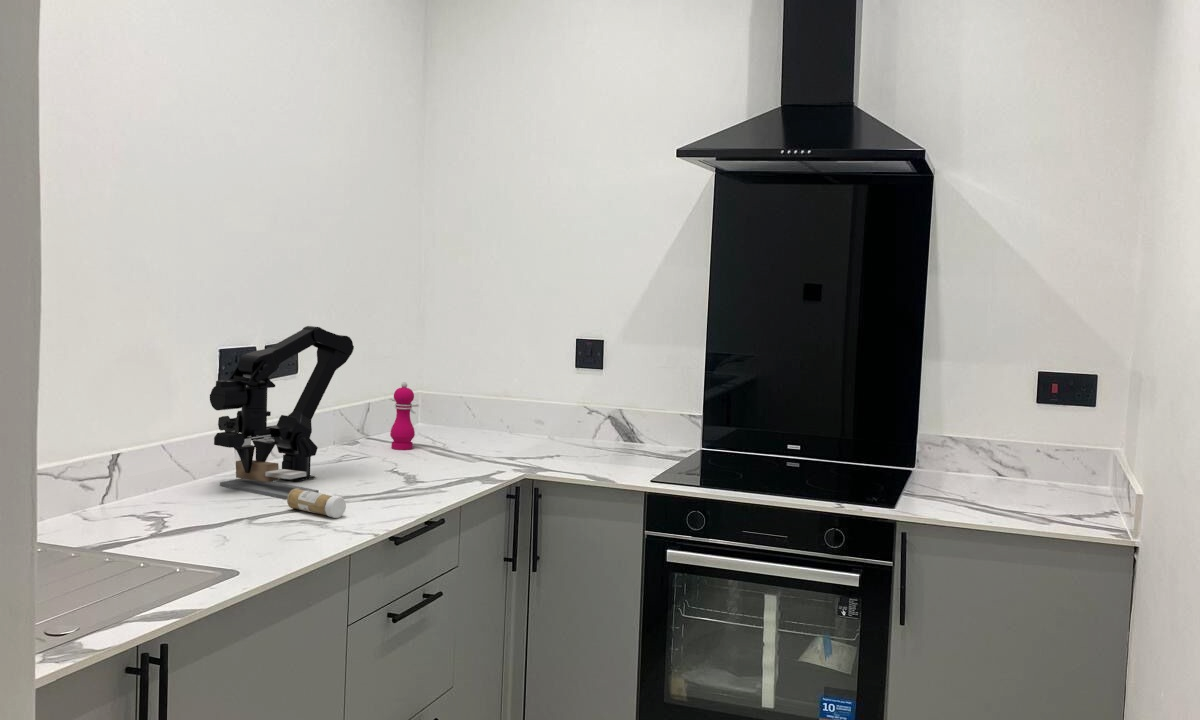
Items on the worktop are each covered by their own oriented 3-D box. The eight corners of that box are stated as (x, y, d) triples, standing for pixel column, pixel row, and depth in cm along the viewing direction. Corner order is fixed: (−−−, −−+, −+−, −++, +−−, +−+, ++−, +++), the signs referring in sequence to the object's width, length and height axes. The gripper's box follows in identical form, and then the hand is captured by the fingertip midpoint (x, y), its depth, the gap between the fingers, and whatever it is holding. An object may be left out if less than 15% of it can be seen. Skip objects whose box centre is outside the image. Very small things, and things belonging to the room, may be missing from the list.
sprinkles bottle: (286, 511, 215) (332, 521, 209) (285, 491, 214) (330, 500, 208) (302, 504, 219) (347, 514, 212) (301, 485, 218) (346, 494, 212)
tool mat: (249, 479, 243) (249, 476, 243) (318, 493, 232) (318, 490, 232) (219, 485, 235) (219, 482, 235) (289, 500, 224) (289, 496, 224)
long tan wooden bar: (232, 478, 236) (232, 461, 236) (249, 475, 240) (249, 458, 240) (290, 485, 227) (290, 468, 226) (306, 482, 231) (306, 465, 231)
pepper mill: (388, 446, 300) (390, 380, 298) (412, 446, 302) (415, 381, 300) (390, 450, 293) (393, 383, 291) (415, 450, 295) (418, 383, 293)
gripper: (261, 400, 247) (259, 462, 248) (198, 406, 230) (197, 472, 232) (293, 405, 241) (291, 468, 243) (231, 412, 225) (230, 479, 226)
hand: (252, 471), depth 236 cm, fingers closed on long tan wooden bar, 3 cm apart
